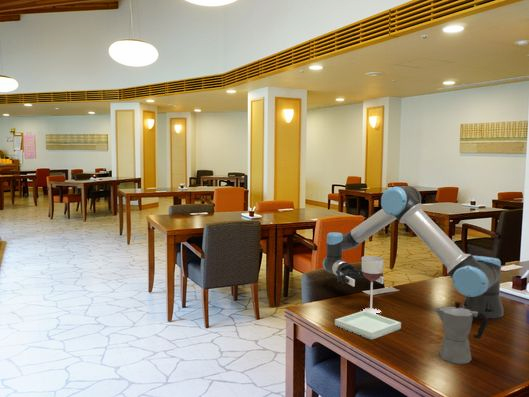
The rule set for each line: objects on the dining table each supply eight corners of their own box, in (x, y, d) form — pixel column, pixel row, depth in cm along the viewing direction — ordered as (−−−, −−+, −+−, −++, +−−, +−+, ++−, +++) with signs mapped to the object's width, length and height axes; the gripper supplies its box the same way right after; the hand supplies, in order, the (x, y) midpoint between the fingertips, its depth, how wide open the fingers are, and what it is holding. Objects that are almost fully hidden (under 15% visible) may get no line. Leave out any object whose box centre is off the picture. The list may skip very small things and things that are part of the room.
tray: (400, 328, 169) (401, 322, 169) (371, 339, 158) (371, 332, 158) (364, 316, 182) (364, 310, 182) (334, 325, 171) (334, 319, 171)
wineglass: (378, 307, 194) (379, 255, 192) (385, 314, 184) (386, 260, 182) (357, 307, 193) (359, 255, 191) (363, 315, 184) (364, 260, 182)
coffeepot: (431, 360, 142) (433, 303, 141) (434, 348, 151) (436, 295, 150) (486, 369, 136) (489, 310, 135) (486, 357, 145) (488, 301, 143)
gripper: (367, 276, 214) (394, 288, 193) (318, 280, 206) (341, 293, 186) (368, 260, 213) (394, 270, 193) (319, 263, 205) (341, 275, 185)
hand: (368, 281), depth 189 cm, fingers open, 13 cm apart
